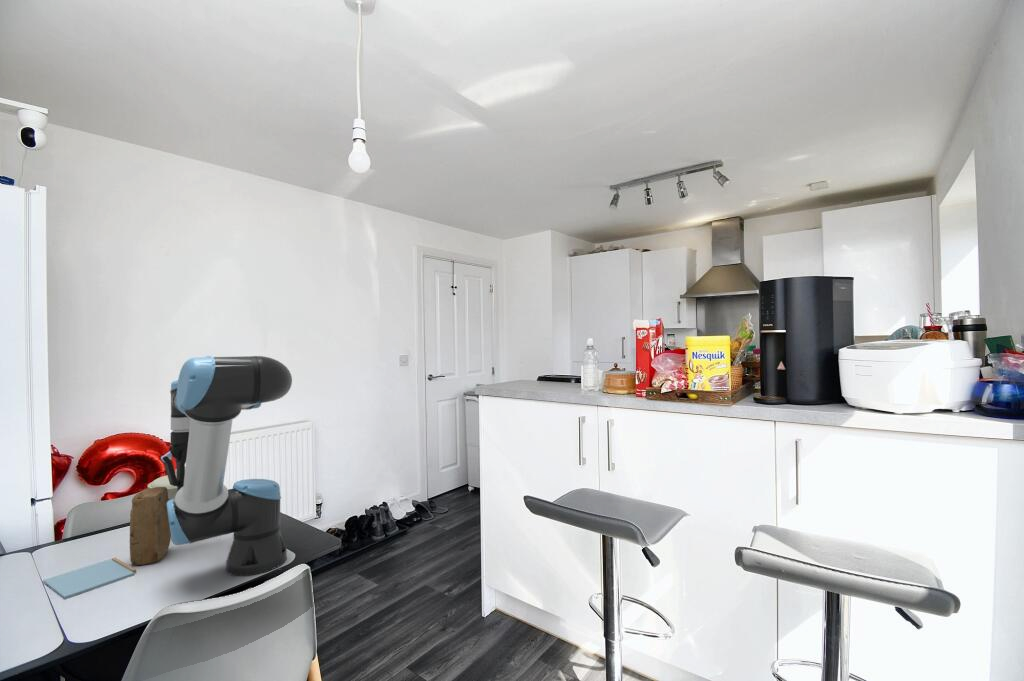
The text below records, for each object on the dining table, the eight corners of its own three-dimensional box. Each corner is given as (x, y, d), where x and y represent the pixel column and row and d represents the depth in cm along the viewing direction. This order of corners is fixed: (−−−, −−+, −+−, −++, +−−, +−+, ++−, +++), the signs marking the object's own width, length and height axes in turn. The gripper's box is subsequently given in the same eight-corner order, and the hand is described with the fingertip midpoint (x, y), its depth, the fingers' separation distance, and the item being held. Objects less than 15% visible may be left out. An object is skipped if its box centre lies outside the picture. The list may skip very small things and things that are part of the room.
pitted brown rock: (157, 565, 131) (157, 493, 131) (126, 568, 129) (126, 496, 130) (174, 548, 142) (175, 483, 142) (146, 551, 140) (146, 485, 140)
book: (137, 573, 126) (137, 570, 126) (64, 599, 113) (64, 595, 113) (113, 560, 134) (113, 556, 134) (43, 582, 122) (43, 578, 122)
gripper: (202, 425, 151) (202, 498, 151) (155, 432, 140) (154, 510, 140) (214, 427, 147) (214, 502, 147) (166, 434, 136) (166, 515, 136)
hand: (185, 506), depth 143 cm, fingers closed
